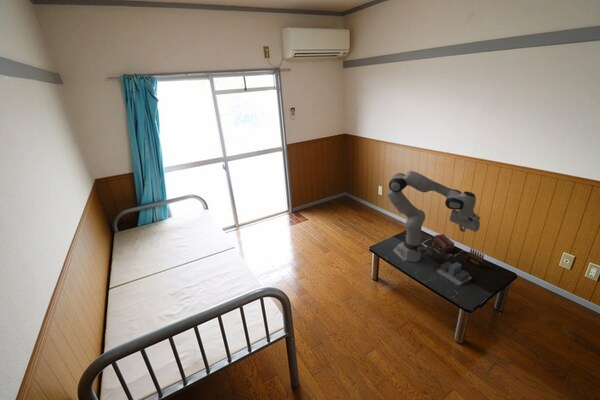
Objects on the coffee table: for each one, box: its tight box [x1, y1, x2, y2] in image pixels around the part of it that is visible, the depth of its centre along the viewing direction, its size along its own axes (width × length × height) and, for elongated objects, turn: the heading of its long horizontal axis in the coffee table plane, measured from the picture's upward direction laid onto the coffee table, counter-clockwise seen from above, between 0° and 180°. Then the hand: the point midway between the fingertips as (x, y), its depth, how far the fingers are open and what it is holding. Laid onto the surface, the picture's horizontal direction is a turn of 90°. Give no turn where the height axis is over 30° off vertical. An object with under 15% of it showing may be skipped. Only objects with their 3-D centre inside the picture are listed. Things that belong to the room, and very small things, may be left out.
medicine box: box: [433, 233, 455, 253], centre depth 237 cm, size 15×8×8 cm, turn 10°
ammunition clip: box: [466, 247, 485, 269], centre depth 213 cm, size 11×2×12 cm, turn 28°
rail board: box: [436, 261, 473, 287], centre depth 205 cm, size 18×14×6 cm
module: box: [448, 261, 463, 276], centre depth 204 cm, size 4×8×7 cm, turn 117°
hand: (462, 231), depth 202 cm, fingers closed
